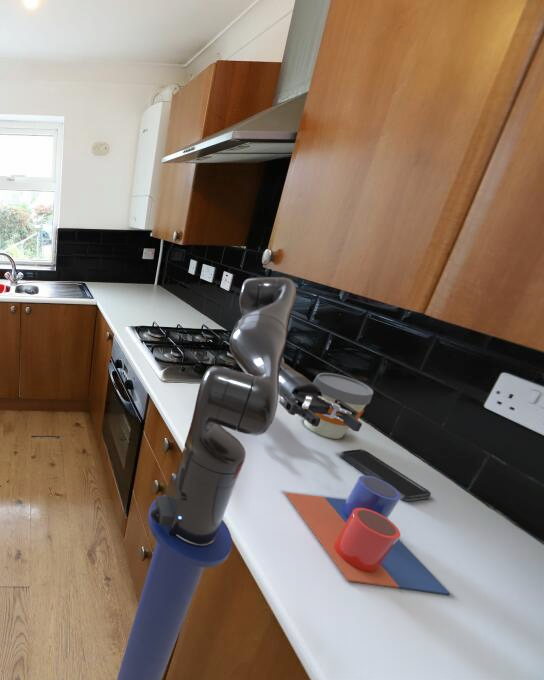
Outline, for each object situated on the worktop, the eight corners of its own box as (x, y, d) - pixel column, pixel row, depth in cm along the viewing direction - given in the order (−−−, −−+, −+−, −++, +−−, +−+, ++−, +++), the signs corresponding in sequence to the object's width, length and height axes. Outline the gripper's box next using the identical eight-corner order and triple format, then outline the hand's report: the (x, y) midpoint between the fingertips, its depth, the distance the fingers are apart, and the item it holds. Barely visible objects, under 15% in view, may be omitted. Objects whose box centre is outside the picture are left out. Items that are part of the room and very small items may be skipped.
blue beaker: (356, 529, 69) (375, 497, 66) (334, 504, 75) (351, 473, 71) (389, 533, 69) (410, 501, 65) (365, 507, 74) (383, 477, 71)
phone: (363, 448, 91) (434, 494, 78) (361, 452, 92) (431, 497, 78) (339, 451, 90) (407, 498, 76) (337, 455, 90) (405, 502, 77)
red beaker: (349, 570, 61) (371, 535, 58) (326, 538, 67) (344, 505, 63) (387, 575, 61) (411, 540, 57) (360, 542, 66) (380, 509, 63)
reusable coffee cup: (360, 437, 98) (385, 391, 92) (333, 446, 93) (357, 399, 88) (313, 412, 109) (333, 370, 103) (287, 419, 104) (305, 375, 98)
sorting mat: (348, 581, 60) (349, 579, 59) (285, 493, 77) (286, 492, 77) (449, 595, 58) (450, 593, 58) (362, 503, 76) (363, 501, 76)
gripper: (271, 372, 91) (310, 407, 76) (328, 378, 90) (380, 415, 75) (261, 397, 93) (298, 435, 79) (317, 403, 92) (365, 443, 78)
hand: (338, 425), depth 77 cm, fingers open, 8 cm apart
